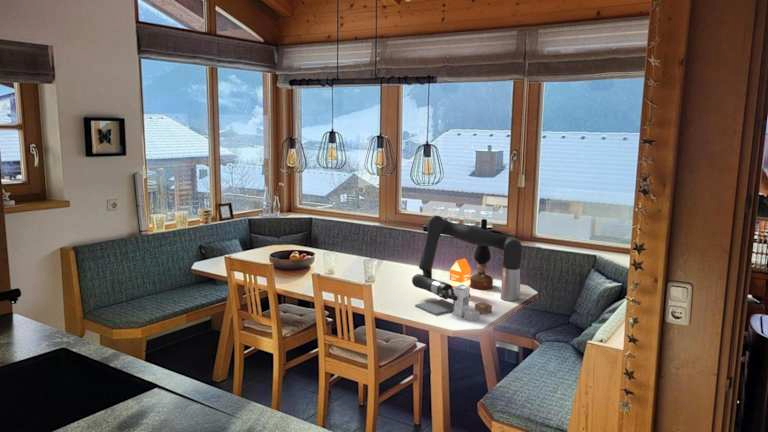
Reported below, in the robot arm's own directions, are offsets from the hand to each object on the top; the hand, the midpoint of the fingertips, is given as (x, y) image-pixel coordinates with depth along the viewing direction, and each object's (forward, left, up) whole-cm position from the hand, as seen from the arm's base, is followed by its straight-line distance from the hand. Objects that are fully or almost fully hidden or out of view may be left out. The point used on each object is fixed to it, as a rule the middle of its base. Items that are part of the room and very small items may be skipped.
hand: (463, 297), depth 290 cm
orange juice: (-21, -26, -9) cm, 34 cm away
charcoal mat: (+3, -14, -9) cm, 17 cm away
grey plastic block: (0, +6, -9) cm, 11 cm away
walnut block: (-12, +2, -9) cm, 15 cm away
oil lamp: (-43, -32, -9) cm, 54 cm away
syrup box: (0, -2, -9) cm, 9 cm away
